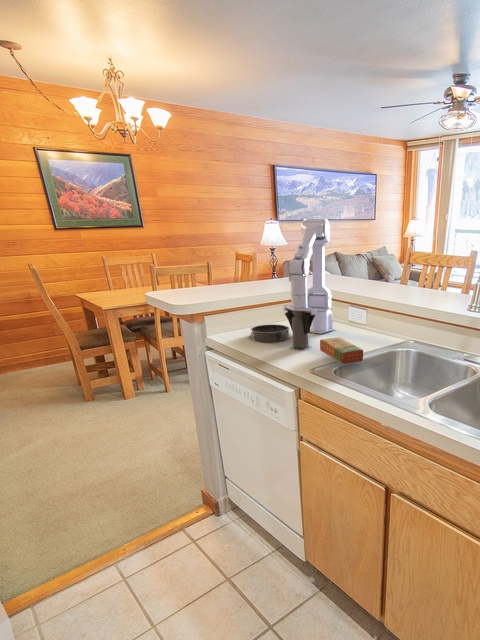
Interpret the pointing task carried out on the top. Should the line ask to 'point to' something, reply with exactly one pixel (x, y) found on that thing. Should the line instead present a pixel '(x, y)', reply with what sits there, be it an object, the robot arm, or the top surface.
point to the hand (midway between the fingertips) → (300, 332)
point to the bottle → (299, 331)
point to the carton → (341, 350)
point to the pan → (270, 333)
